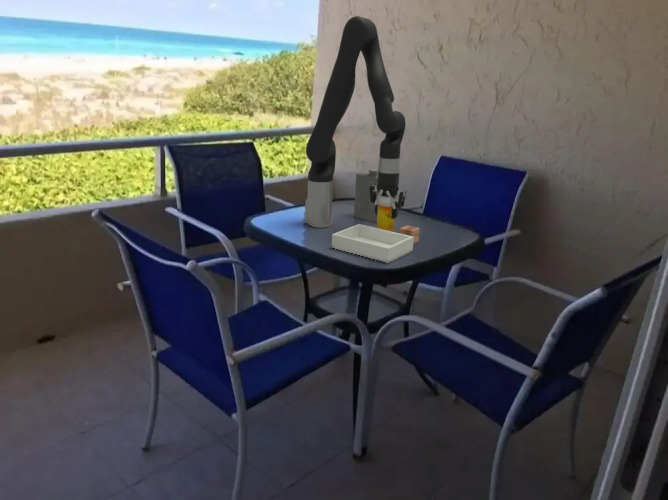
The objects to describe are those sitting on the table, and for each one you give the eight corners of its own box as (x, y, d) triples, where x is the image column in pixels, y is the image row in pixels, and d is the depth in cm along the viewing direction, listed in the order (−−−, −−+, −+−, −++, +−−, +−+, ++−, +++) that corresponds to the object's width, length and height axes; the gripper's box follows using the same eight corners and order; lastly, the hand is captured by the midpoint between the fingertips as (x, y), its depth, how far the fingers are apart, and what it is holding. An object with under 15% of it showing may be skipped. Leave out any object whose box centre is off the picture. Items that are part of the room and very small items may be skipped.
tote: (331, 248, 194) (332, 234, 193) (358, 237, 207) (359, 223, 205) (387, 263, 182) (388, 248, 181) (412, 251, 194) (413, 236, 193)
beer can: (392, 238, 206) (394, 197, 201) (375, 237, 207) (377, 196, 202) (393, 233, 212) (396, 193, 207) (377, 232, 213) (379, 192, 208)
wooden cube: (399, 242, 203) (400, 228, 202) (406, 238, 207) (407, 225, 206) (411, 245, 201) (412, 231, 199) (418, 241, 204) (419, 228, 203)
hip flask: (391, 222, 226) (394, 171, 219) (385, 224, 223) (388, 173, 216) (357, 214, 234) (359, 165, 228) (351, 216, 231) (353, 167, 225)
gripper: (365, 169, 203) (363, 215, 208) (401, 175, 195) (398, 222, 200) (377, 166, 208) (374, 211, 214) (412, 171, 200) (408, 218, 206)
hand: (385, 216), depth 207 cm, fingers closed on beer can, 6 cm apart
